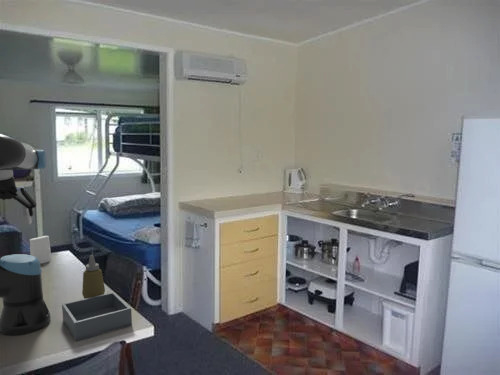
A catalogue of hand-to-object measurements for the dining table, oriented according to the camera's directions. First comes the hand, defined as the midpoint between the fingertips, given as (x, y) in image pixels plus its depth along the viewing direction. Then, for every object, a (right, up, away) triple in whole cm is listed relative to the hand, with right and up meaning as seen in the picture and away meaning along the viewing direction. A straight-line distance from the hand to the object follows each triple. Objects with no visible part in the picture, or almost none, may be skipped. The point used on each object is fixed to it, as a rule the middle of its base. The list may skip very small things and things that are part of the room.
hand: (12, 225), depth 175 cm
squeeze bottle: (+42, -27, -19) cm, 53 cm away
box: (+49, -30, -37) cm, 68 cm away
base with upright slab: (-4, -21, +32) cm, 39 cm away
